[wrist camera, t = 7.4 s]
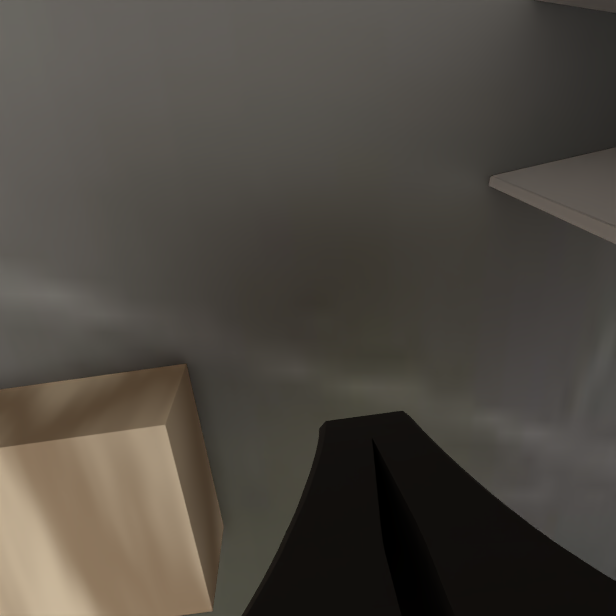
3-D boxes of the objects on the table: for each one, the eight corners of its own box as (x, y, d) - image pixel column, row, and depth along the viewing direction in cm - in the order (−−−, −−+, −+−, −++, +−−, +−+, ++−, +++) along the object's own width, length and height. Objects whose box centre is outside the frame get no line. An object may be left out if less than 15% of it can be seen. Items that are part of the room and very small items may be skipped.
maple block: (165, 424, 16) (-188, 473, 16) (212, 611, 19) (-94, 652, 19) (186, 362, 20) (-101, 402, 20) (224, 524, 23) (-32, 559, 23)
